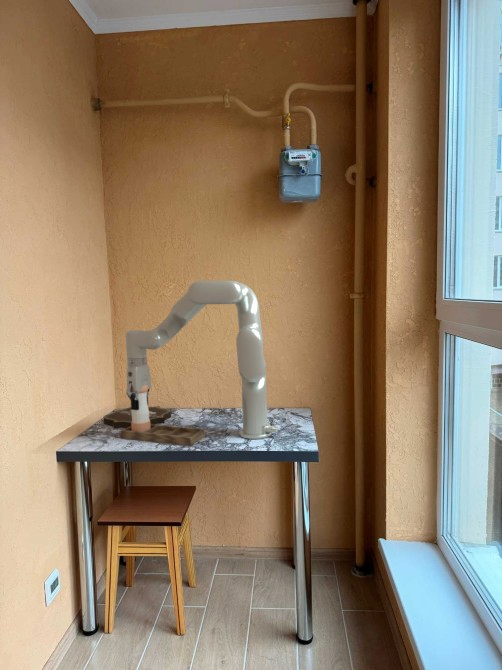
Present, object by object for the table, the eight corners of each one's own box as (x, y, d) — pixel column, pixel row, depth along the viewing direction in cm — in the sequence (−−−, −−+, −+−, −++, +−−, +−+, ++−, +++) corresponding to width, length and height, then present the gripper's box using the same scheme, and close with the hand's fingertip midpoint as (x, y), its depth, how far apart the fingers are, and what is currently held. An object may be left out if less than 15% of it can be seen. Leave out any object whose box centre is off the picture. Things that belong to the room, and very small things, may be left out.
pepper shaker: (135, 426, 187) (133, 379, 185) (153, 426, 186) (151, 379, 184) (128, 432, 179) (126, 383, 177) (146, 432, 178) (144, 383, 176)
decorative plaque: (185, 408, 212) (141, 426, 185) (185, 415, 212) (141, 434, 186) (135, 403, 226) (87, 419, 199) (135, 409, 226) (87, 425, 200)
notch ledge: (205, 436, 178) (204, 429, 178) (190, 446, 168) (190, 438, 168) (137, 430, 190) (137, 422, 189) (120, 438, 180) (120, 430, 179)
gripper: (131, 365, 170) (134, 414, 172) (157, 358, 186) (160, 403, 188) (115, 365, 173) (118, 412, 175) (142, 358, 189) (144, 402, 191)
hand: (139, 407), depth 182 cm, fingers closed on pepper shaker, 5 cm apart
